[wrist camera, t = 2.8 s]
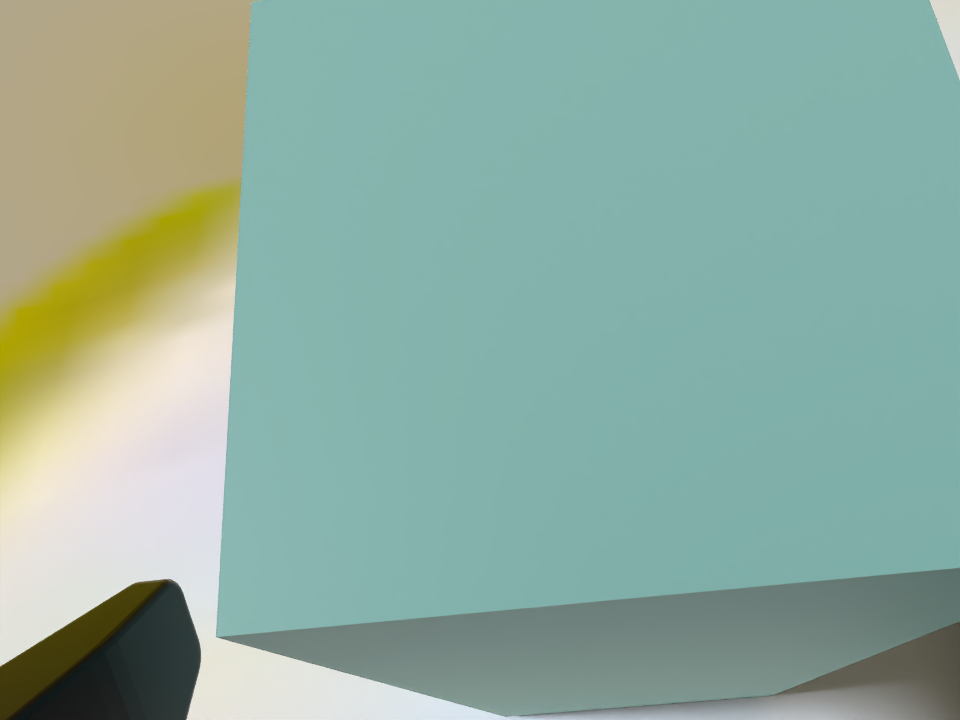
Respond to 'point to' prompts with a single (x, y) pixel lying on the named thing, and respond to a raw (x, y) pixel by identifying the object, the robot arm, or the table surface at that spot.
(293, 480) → the teal pillar
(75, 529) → the table surface
